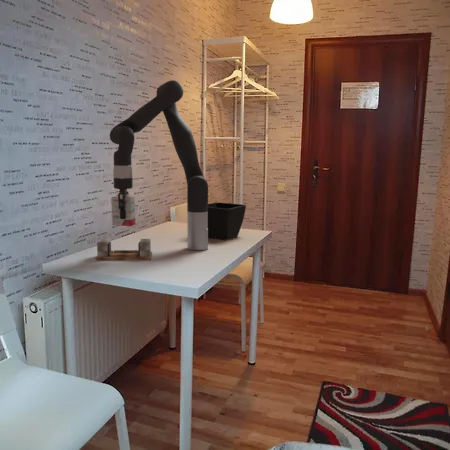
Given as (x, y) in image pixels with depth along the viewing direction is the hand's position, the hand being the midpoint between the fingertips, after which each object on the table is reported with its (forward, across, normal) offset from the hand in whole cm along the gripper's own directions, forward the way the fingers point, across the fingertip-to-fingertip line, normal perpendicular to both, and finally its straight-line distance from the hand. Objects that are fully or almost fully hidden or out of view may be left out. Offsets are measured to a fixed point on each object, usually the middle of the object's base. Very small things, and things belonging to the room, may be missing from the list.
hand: (123, 217), depth 183 cm
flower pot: (+17, -44, +45) cm, 65 cm away
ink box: (+3, 0, 0) cm, 3 cm away
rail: (+17, 0, 0) cm, 17 cm away
